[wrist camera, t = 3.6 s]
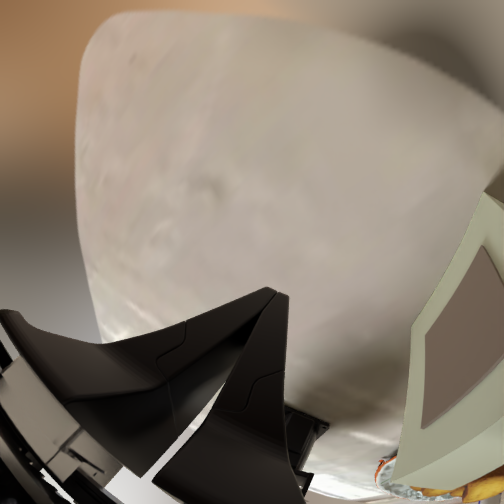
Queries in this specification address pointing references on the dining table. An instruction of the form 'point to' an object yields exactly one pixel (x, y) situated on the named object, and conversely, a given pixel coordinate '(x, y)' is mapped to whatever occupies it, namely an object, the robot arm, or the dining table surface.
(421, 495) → the food on plate
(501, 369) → the sage block
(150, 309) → the dining table surface
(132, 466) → the robot arm
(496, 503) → the beverage can
